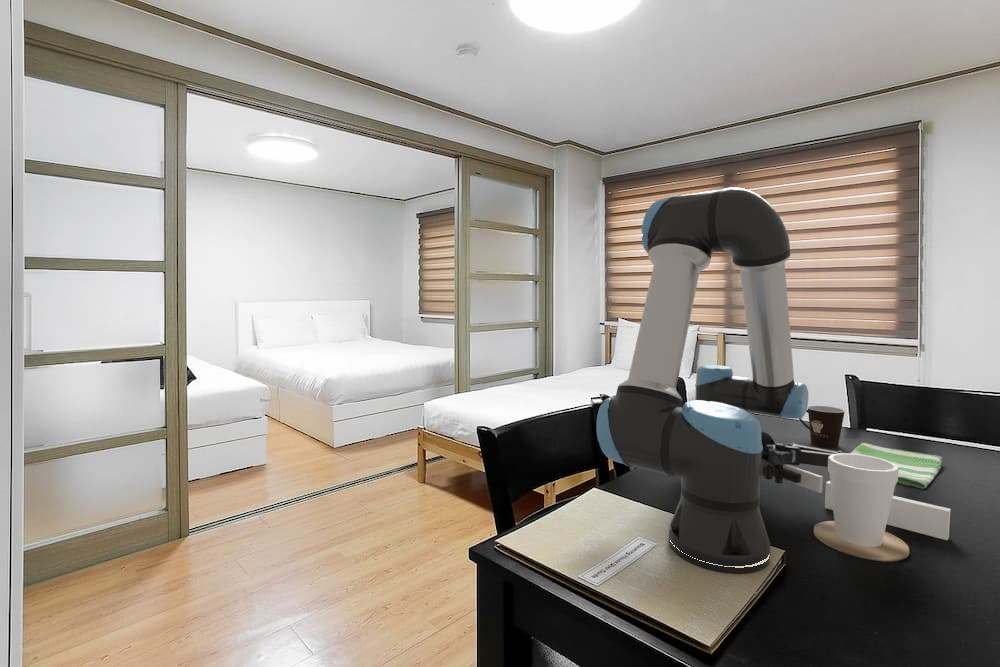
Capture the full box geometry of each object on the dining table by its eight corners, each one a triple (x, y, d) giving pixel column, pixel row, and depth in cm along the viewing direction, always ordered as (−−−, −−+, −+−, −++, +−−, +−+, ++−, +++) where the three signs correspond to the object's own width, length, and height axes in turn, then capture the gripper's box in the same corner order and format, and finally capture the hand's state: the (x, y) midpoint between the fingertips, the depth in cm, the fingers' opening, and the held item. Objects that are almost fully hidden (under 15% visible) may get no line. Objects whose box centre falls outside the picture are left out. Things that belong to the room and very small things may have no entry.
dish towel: (830, 470, 122) (830, 458, 121) (859, 450, 137) (859, 440, 137) (925, 491, 108) (926, 479, 108) (946, 467, 123) (946, 456, 123)
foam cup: (833, 520, 92) (836, 449, 91) (898, 537, 85) (902, 461, 84) (819, 537, 85) (822, 461, 84) (887, 557, 78) (892, 475, 77)
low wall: (947, 540, 85) (949, 511, 85) (824, 507, 98) (825, 482, 98) (948, 537, 86) (950, 508, 86) (827, 505, 100) (828, 480, 99)
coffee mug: (850, 449, 137) (852, 412, 136) (818, 449, 137) (819, 412, 136) (823, 437, 148) (825, 403, 147) (793, 437, 148) (795, 403, 148)
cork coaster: (900, 570, 76) (900, 566, 76) (803, 540, 85) (803, 536, 85) (915, 542, 85) (916, 538, 85) (826, 517, 94) (826, 514, 94)
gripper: (788, 456, 111) (894, 490, 92) (700, 470, 102) (795, 512, 83) (790, 422, 111) (896, 449, 91) (701, 434, 102) (797, 467, 82)
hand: (848, 479), depth 87 cm, fingers open, 13 cm apart
